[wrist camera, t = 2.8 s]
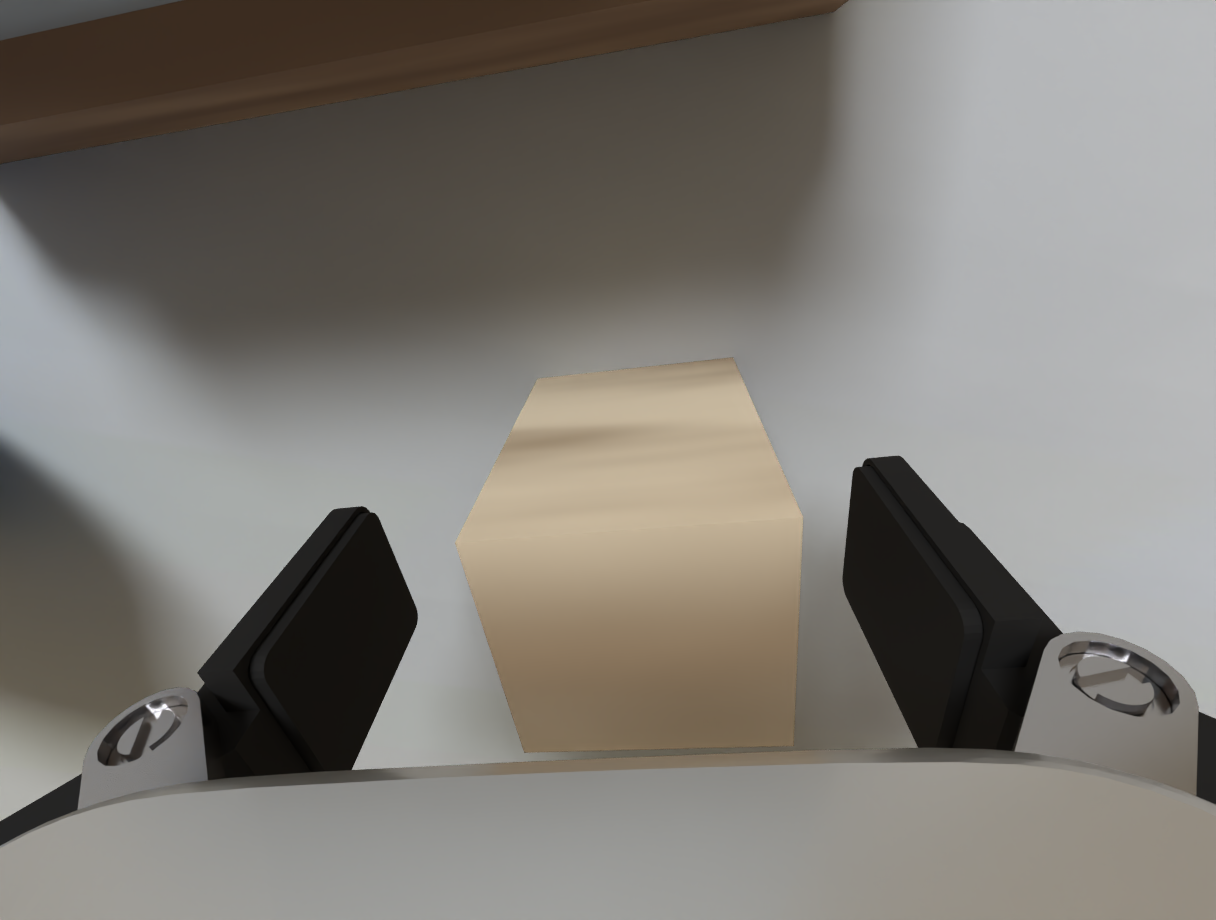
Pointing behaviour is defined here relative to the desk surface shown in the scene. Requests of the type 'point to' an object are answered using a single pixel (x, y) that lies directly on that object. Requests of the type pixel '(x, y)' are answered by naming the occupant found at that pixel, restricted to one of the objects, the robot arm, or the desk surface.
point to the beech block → (640, 564)
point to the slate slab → (61, 13)
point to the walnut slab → (310, 57)
